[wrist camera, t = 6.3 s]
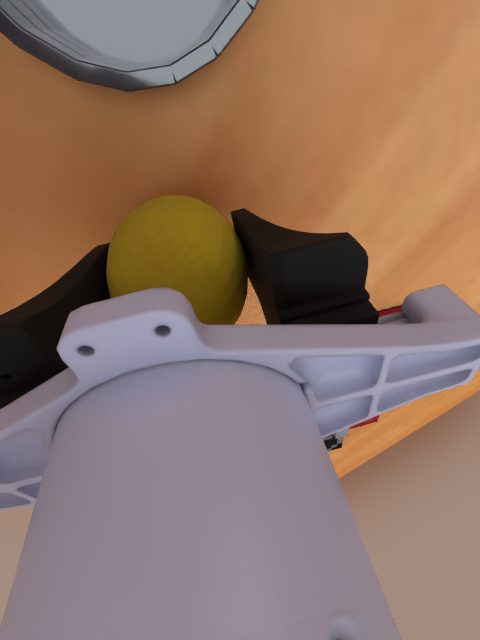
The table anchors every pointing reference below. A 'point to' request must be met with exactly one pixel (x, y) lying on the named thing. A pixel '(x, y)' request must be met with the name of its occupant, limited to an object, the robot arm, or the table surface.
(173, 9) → the pan
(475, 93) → the table surface
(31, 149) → the table surface
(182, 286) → the lemon
